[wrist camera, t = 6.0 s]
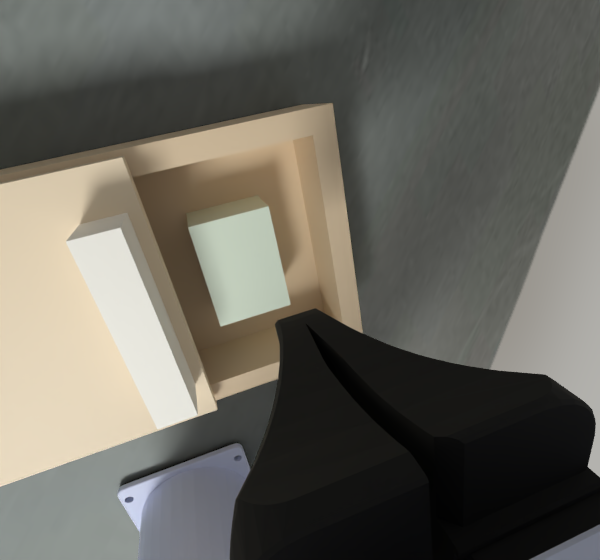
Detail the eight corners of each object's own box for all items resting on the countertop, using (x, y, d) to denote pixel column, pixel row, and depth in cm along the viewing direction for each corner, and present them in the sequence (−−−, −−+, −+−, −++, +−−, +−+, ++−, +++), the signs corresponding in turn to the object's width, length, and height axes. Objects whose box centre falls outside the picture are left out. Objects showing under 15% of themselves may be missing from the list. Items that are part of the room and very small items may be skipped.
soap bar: (278, 284, 21) (290, 304, 19) (215, 303, 20) (220, 326, 18) (257, 194, 19) (268, 206, 17) (186, 213, 18) (187, 227, 16)
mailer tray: (336, 313, 24) (364, 348, 20) (65, 402, 21) (43, 460, 17) (302, 104, 19) (332, 102, 15) (-69, 184, 16) (-139, 205, 12)
